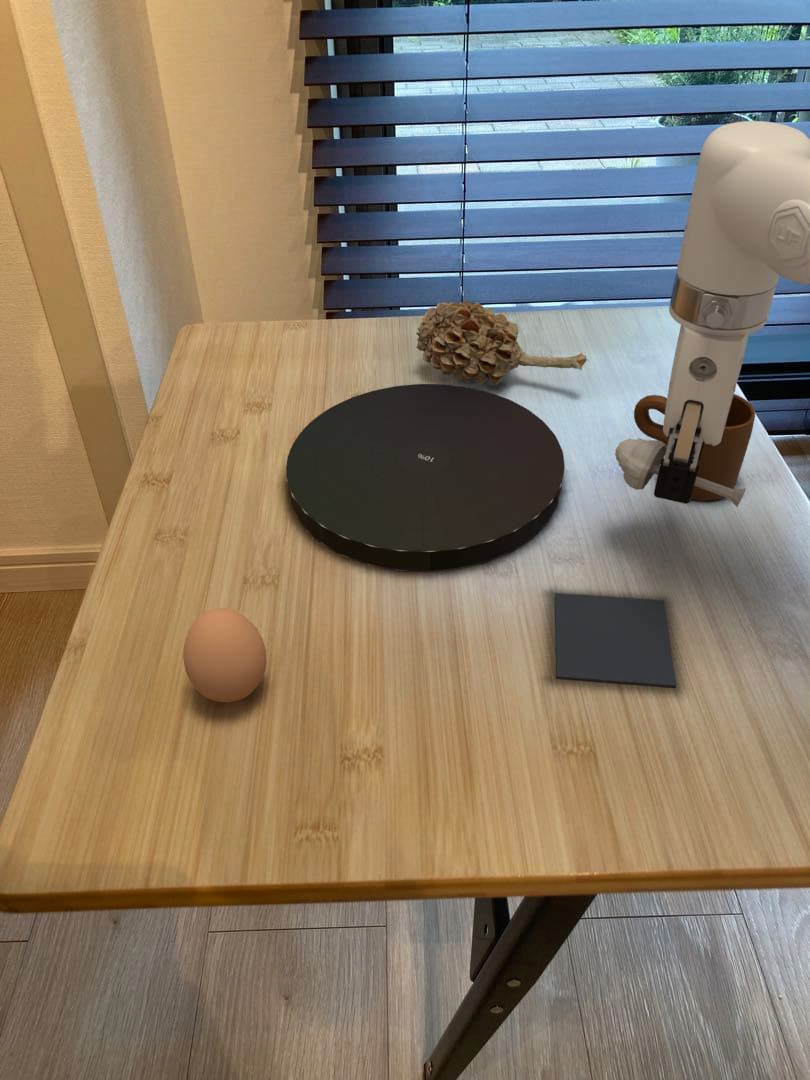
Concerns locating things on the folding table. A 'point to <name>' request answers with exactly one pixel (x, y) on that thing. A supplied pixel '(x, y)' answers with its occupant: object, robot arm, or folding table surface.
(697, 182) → the robot arm
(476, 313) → the pine cone
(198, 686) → the egg
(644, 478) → the mushroom
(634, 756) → the folding table surface
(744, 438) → the mug
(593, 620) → the coaster
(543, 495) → the disc
